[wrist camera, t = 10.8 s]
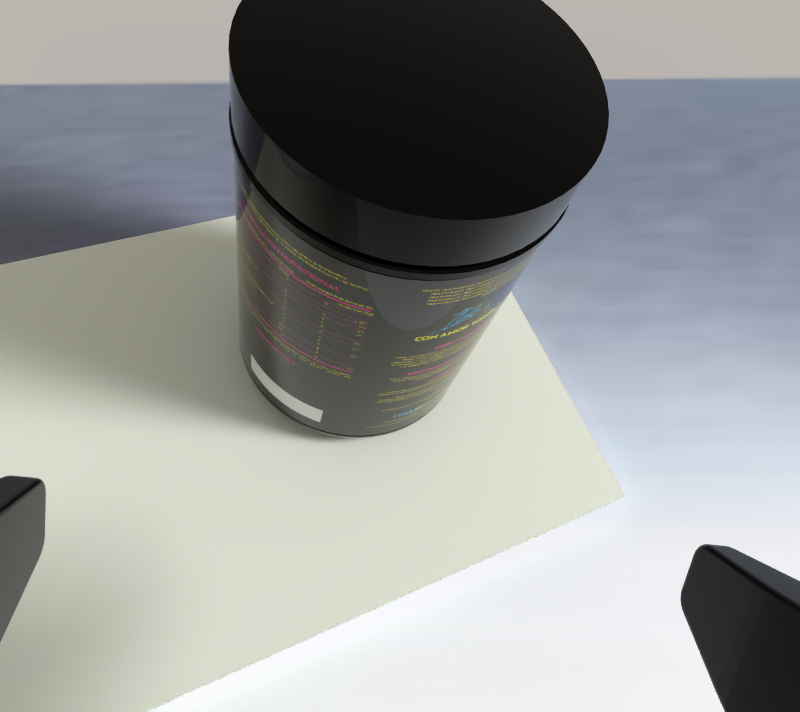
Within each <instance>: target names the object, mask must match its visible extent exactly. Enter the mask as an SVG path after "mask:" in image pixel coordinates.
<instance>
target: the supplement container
mask: <svg viewBox="0 0 800 712" xmlns="http://www.w3.org/2000/svg"><path fill="white" fill-rule="evenodd" d="M229 74H230V75H229V77H230V107H229V127H230V138H231V142H232V147H233V151H234V183H235V217H236V251H237V286H238V320H239V342H240V349H241V354H242V358H243V361H244V364H245V367H246V369H247V371H248V374H249V376H250V378H251V379H252V381H253V383H254V384H255V386H256V387H257V389H258V390H259V391H260V393H261V394H262V395H263V396H264V397H265V398H266V399H267V401H268V402H269V403H270V404H271V405H272V406H274V407H275V408H276V409H277V410H278V411H279V412H281V413H282V414H284V415H285V416H286V417H288V418H289V419H291V420H293V421H295V422H296V423H298V424H300V425H302V426H304V427H306V428H309V429H311V430H313V431H316V432H319V433H323V434H326V435H331V436H335V437H344V438H370V437H377V436H383V435H387V434H390V433H394V432H397V431H399V430H402V429H404V428H406V427H408V426H410V425H412V424H414V423H416V422H417V421H419V420H420V419H422V418H423V417H425V416H426V415H427V414H428V413H429V412H430V411H431V410H433V409H434V407H435V406H436V405H437V404H438V403H439V402H440V401H441V399H442V398H443V397H444V395H445V394H446V392H447V391H448V389H449V388H450V386H451V385H452V383H453V381H454V380H455V378H456V377H457V375H458V374H459V372H460V370H461V369H462V367H463V366H464V364H465V363H466V361H467V360H468V358H469V356H470V355H471V353H472V352H473V350H474V349H475V347H476V345H477V344H478V342H479V341H480V339H481V338H482V336H483V334H484V333H485V331H486V330H487V328H488V327H489V325H490V324H491V322H492V320H493V319H494V317H495V316H496V314H497V313H498V311H499V309H500V308H501V306H502V305H503V303H504V302H505V300H506V298H507V297H508V295H509V294H510V292H511V291H512V289H513V288H514V286H515V284H516V283H517V281H518V280H519V278H520V277H521V275H522V273H523V272H524V270H525V269H526V267H527V266H528V264H529V262H530V261H531V259H532V258H533V256H534V255H535V253H536V251H537V250H538V248H539V247H540V245H541V244H542V243H543V241H544V240H545V239H546V238H547V237H548V236H549V235H550V234H551V233H552V231H553V230H554V229H555V227H556V226H557V225H558V223H559V222H560V220H561V219H562V217H563V215H564V213H565V211H566V209H567V208H568V205H569V203H570V202H571V200H572V198H573V197H574V195H575V194H576V192H577V191H578V189H579V188H580V186H581V184H582V183H583V181H584V180H585V178H586V177H587V175H588V174H589V172H590V170H591V169H592V167H593V166H594V164H595V162H596V161H597V159H598V157H599V155H600V153H601V151H602V148H603V145H604V143H605V140H606V135H607V130H608V119H609V110H608V100H607V95H606V91H605V86H604V83H603V81H602V78H601V75H600V72H599V70H598V68H597V66H596V64H595V62H594V60H593V58H592V57H591V55H590V53H589V52H588V50H587V48H586V47H585V45H584V44H583V43H582V41H581V40H580V39H579V37H578V36H577V35H576V33H575V32H574V31H573V30H572V29H571V28H570V27H569V26H568V24H567V23H566V22H565V21H564V20H563V19H562V18H561V17H560V16H558V14H557V13H556V12H554V11H553V10H552V9H551V8H550V7H549V6H547V5H546V4H545V3H544V2H543V1H541V0H242V1H241V3H240V4H239V6H238V8H237V10H236V13H235V16H234V18H233V20H232V25H231V30H230V34H229Z"/></svg>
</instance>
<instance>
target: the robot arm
mask: <svg viewBox="0 0 800 712" xmlns="http://www.w3.org/2000/svg"><path fill="white" fill-rule="evenodd" d="M45 513H46V488H45V484H44V482H43V481H42V480H41V479H38V478H33V477H23V476H13V475H12V476H5V477H2V478H0V642H1V640H2V638H3V636H4V634H5V632H6V629H7V627H8V625H9V623H10V621H11V619H12V616H13V614H14V612H15V610H16V608H17V606H18V603H19V601H20V599H21V597H22V595H23V593H24V590H25V588H26V586H27V584H28V582H29V579H30V577H31V575H32V573H33V571H34V569H35V566H36V564H37V562H38V560H39V558H40V555H41V553H42V549H43V545H44V540H45ZM681 606H682V610H683V612H684V615H685V617H686V620H687V622H688V625H689V627H690V630H691V632H692V634H693V637H694V639H695V642H696V644H697V647H698V649H699V651H700V654H701V656H702V659H703V661H704V664H705V666H706V668H707V671H708V673H709V676H710V678H711V681H712V683H713V685H714V688H715V690H716V693H717V695H718V697H719V699H720V702H721V704H722V706H723V708H724V710H725V712H800V581H798V580H796V579H794V578H792V577H790V576H788V575H786V574H784V573H782V572H780V571H778V570H776V569H774V568H772V567H770V566H768V565H766V564H764V563H762V562H760V561H758V560H756V559H754V558H752V557H750V556H747V555H745V554H743V553H741V552H739V551H737V550H735V549H733V548H731V547H728V546H720V545H710V544H704V545H702V546H700V547H698V549H697V550H696V551H695V553H694V556H693V559H692V562H691V565H690V568H689V571H688V573H687V576H686V579H685V582H684V585H683V588H682V591H681Z"/></svg>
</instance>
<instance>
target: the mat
mask: <svg viewBox="0 0 800 712" xmlns="http://www.w3.org/2000/svg"><path fill="white" fill-rule="evenodd" d="M12 475H13V476H23V477H33V478H38V479H41V480H42V481H43V482H44V484H45V488H46V513H45V540H44V545H43V549H42V553H41V555H40V558H39V560H38V562H37V564H36V566H35V569H34V571H33V573H32V575H31V577H30V579H29V582H28V584H27V586H26V588H25V590H24V593H23V595H22V597H21V599H20V601H19V603H18V606H17V608H16V610H15V612H14V614H13V616H12V619H11V621H10V623H9V625H8V627H7V629H6V632H5V634H4V636H3V638H2V640H1V642H0V712H146V711H149V710H151V709H153V708H155V707H158V706H160V705H162V704H164V703H166V702H169V701H171V700H173V699H175V698H178V697H180V696H182V695H184V694H186V693H189V692H191V691H193V690H195V689H198V688H200V687H202V686H204V685H207V684H209V683H211V682H213V681H215V680H218V679H220V678H222V677H224V676H227V675H229V674H231V673H233V672H236V671H238V670H240V669H242V668H244V667H247V666H249V665H251V664H253V663H256V662H258V661H260V660H262V659H265V658H267V657H269V656H271V655H273V654H276V653H278V652H280V651H282V650H285V649H287V648H289V647H291V646H294V645H296V644H298V643H300V642H302V641H305V640H307V639H309V638H311V637H314V636H316V635H318V634H320V633H322V632H325V631H327V630H329V629H331V628H334V627H336V626H338V625H340V624H343V623H345V622H347V621H349V620H351V619H354V618H356V617H358V616H360V615H363V614H365V613H367V612H369V611H372V610H374V609H376V608H378V607H380V606H383V605H385V604H387V603H389V602H392V601H394V600H396V599H398V598H401V597H403V596H405V595H407V594H409V593H412V592H414V591H416V590H418V589H421V588H423V587H425V586H427V585H430V584H432V583H434V582H436V581H438V580H441V579H443V578H445V577H447V576H450V575H452V574H454V573H456V572H458V571H461V570H463V569H465V568H467V567H470V566H472V565H474V564H476V563H479V562H481V561H483V560H485V559H487V558H490V557H492V556H494V555H496V554H499V553H501V552H503V551H505V550H508V549H510V548H512V547H514V546H516V545H519V544H521V543H523V542H525V541H528V540H530V539H532V538H534V537H537V536H539V535H541V534H543V533H545V532H548V531H550V530H552V529H554V528H557V527H559V526H561V525H563V524H566V523H568V522H570V521H572V520H574V519H577V518H579V517H581V516H583V515H586V514H588V513H590V512H592V511H594V510H597V509H599V508H601V507H603V506H606V505H608V504H610V503H612V502H615V501H617V500H618V499H620V498H622V497H624V496H625V495H624V493H623V491H622V489H621V488H620V486H619V484H618V482H617V481H616V479H615V477H614V475H613V473H612V472H611V470H610V468H609V466H608V464H607V463H606V461H605V459H604V457H603V455H602V454H601V452H600V450H599V448H598V446H597V445H596V443H595V441H594V439H593V438H592V436H591V434H590V432H589V430H588V429H587V427H586V425H585V423H584V421H583V420H582V418H581V416H580V414H579V412H578V411H577V409H576V407H575V405H574V404H573V402H572V400H571V398H570V396H569V395H568V393H567V391H566V389H565V387H564V386H563V384H562V382H561V380H560V378H559V377H558V375H557V373H556V371H555V370H554V368H553V366H552V364H551V362H550V361H549V359H548V357H547V355H546V353H545V352H544V350H543V348H542V346H541V344H540V343H539V341H538V339H537V337H536V336H535V334H534V332H533V330H532V328H531V327H530V325H529V323H528V321H527V319H526V318H525V316H524V314H523V312H522V310H521V309H520V307H519V305H518V303H517V302H516V300H515V298H514V296H513V294H512V293H511V292H510V294H509V295H508V297H507V298H506V300H505V302H504V303H503V305H502V306H501V308H500V309H499V311H498V313H497V314H496V316H495V317H494V319H493V320H492V322H491V324H490V325H489V327H488V328H487V330H486V331H485V333H484V334H483V336H482V338H481V339H480V341H479V342H478V344H477V345H476V347H475V349H474V350H473V352H472V353H471V355H470V356H469V358H468V360H467V361H466V363H465V364H464V366H463V367H462V369H461V370H460V372H459V374H458V375H457V377H456V378H455V380H454V381H453V383H452V385H451V386H450V388H449V389H448V391H447V392H446V394H445V395H444V397H443V398H442V399H441V401H440V402H439V403H438V404H437V405H436V406H435V407H434V409H433V410H431V411H430V412H429V413H428V414H427V415H426V416H425V417H423V418H422V419H420V420H419V421H417V422H416V423H414V424H412V425H410V426H408V427H406V428H404V429H402V430H399V431H397V432H394V433H390V434H387V435H383V436H377V437H370V438H344V437H335V436H331V435H326V434H323V433H319V432H316V431H313V430H311V429H309V428H306V427H304V426H302V425H300V424H298V423H296V422H295V421H293V420H291V419H289V418H288V417H286V416H285V415H284V414H282V413H281V412H279V411H278V410H277V409H276V408H275V407H274V406H272V405H271V404H270V403H269V402H268V401H267V399H266V398H265V397H264V396H263V395H262V394H261V393H260V391H259V390H258V389H257V387H256V386H255V384H254V383H253V381H252V379H251V378H250V376H249V374H248V371H247V369H246V367H245V364H244V361H243V358H242V354H241V349H240V342H239V320H238V286H237V251H236V217H235V216H231V217H226V218H221V219H216V220H211V221H207V222H202V223H197V224H192V225H188V226H183V227H178V228H173V229H168V230H164V231H159V232H154V233H149V234H145V235H140V236H135V237H130V238H125V239H121V240H116V241H111V242H106V243H102V244H97V245H92V246H87V247H83V248H78V249H73V250H68V251H63V252H59V253H54V254H49V255H44V256H40V257H35V258H30V259H25V260H20V261H16V262H11V263H6V264H1V265H0V478H2V477H5V476H12Z"/></svg>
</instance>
